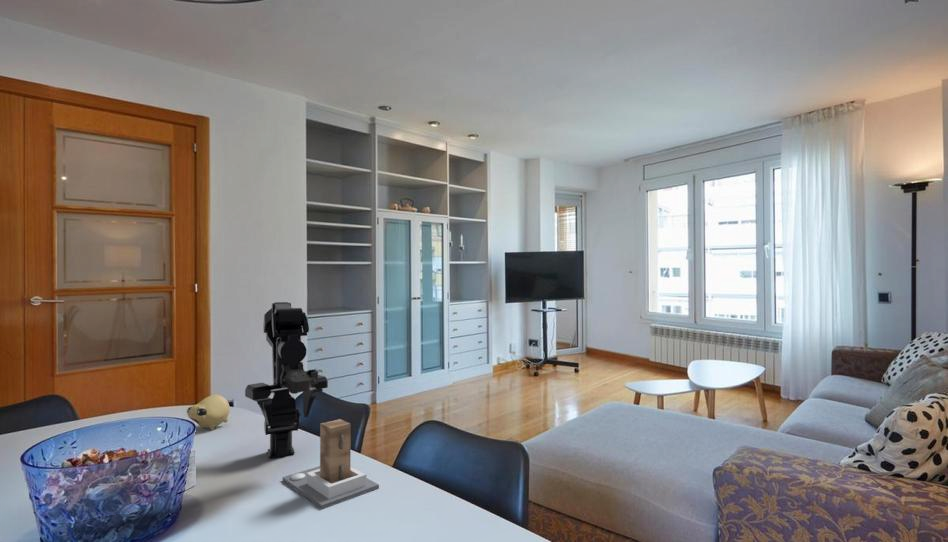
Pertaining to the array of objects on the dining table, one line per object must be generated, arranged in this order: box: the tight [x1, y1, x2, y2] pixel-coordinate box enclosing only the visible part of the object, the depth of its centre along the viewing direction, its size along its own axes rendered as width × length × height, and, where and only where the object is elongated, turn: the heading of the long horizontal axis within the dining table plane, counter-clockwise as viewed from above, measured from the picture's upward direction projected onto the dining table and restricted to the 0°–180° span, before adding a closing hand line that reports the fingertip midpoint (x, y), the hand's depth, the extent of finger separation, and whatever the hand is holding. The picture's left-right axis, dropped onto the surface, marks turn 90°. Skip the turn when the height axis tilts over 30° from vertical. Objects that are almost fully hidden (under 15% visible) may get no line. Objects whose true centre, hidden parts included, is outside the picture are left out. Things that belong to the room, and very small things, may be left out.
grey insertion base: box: [282, 465, 380, 510], centre depth 109 cm, size 20×14×3 cm
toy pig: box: [186, 394, 231, 431], centre depth 152 cm, size 10×12×11 cm
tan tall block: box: [319, 418, 352, 484], centre depth 107 cm, size 6×5×14 cm
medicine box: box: [184, 448, 197, 492], centre depth 108 cm, size 8×4×9 cm, turn 74°
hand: (288, 421), depth 116 cm, fingers open, 9 cm apart
